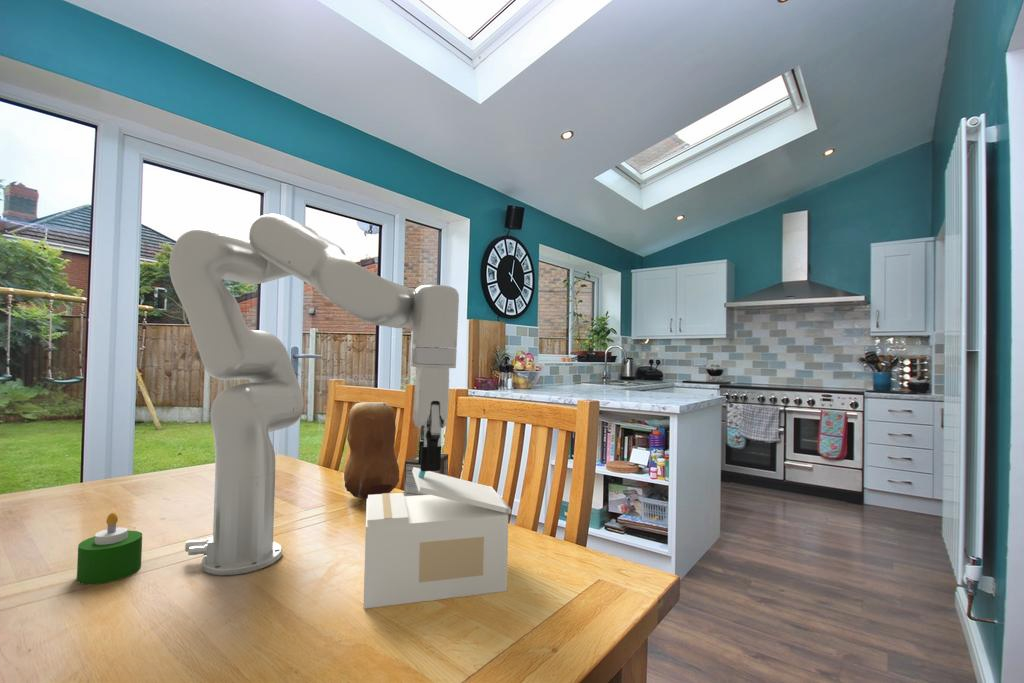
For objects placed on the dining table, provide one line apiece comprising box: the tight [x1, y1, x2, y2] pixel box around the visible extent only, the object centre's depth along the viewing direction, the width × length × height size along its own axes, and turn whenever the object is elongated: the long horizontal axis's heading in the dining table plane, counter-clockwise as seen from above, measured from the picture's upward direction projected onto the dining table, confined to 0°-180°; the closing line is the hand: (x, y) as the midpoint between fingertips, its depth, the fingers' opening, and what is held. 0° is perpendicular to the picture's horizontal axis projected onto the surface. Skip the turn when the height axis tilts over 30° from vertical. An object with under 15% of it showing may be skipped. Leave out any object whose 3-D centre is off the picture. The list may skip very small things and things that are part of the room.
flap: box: [412, 467, 513, 515], centre depth 82 cm, size 16×13×6 cm
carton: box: [363, 492, 509, 610], centre depth 81 cm, size 22×14×13 cm, turn 106°
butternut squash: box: [343, 401, 400, 500], centre depth 123 cm, size 14×13×25 cm
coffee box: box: [403, 453, 449, 496], centre depth 100 cm, size 9×6×16 cm
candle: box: [76, 512, 143, 585], centre depth 81 cm, size 8×8×10 cm
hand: (429, 466), depth 81 cm, fingers closed on flap, 3 cm apart
